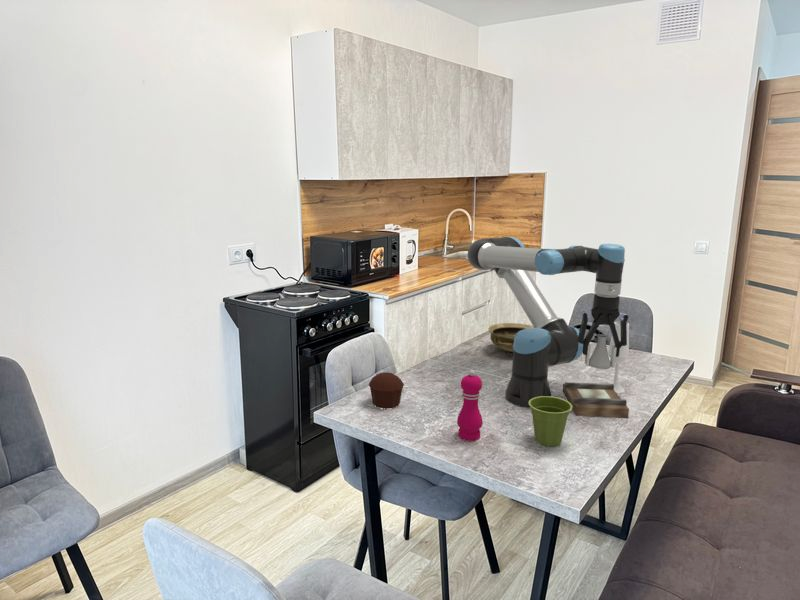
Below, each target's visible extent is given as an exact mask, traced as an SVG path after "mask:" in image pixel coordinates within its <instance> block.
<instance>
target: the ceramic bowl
mask: <svg viewBox="0 0 800 600" xmlns="http://www.w3.org/2000/svg"><path fill="white" fill-rule="evenodd" d="M528 328H532V329H534V326H533V324H526V323H515V322H502V323H501V322H500V323H494V324H492V325H490V326H489V327H488V331H489V333H490V340H491V342H492V343H493V344H494V345H495V346H496V347H497V348H499V349H502V350H503V351H505V353H506V352H507V353H506V354H508V353H509V354H508V355H511V354H512V355H511V356H513V343H514V337H515V335H516V334H517V333H518V332H519V331H521V330H524V329H528Z"/></svg>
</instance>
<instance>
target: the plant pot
mask: <svg viewBox="0 0 800 600" xmlns="http://www.w3.org/2000/svg"><path fill="white" fill-rule="evenodd" d="M529 406H530V407H531V408H530V412H531V414H532V423H533V433H534V439H535V442H537V443H538V444H539V445H543V446H546V447H557V446H559V445H561V443H562V441H563V436H564V432H565V429H566V424H567V420H568V418H569V416H570V411H573V410H572V404H571V403H570V402H568V401H567V399H564V398H561V397H558V396H557V397H556V396H552V397H551V396H540V397H535V398H532V399H530V400H529Z"/></svg>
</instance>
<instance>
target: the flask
mask: <svg viewBox="0 0 800 600" xmlns="http://www.w3.org/2000/svg"><path fill="white" fill-rule="evenodd" d="M608 338H609V336H608V335H607V334H601V333H600V334H597V342H596V345H595V347H594V349H593V352H592V354H591V355H590V359H589V366H588V367H590V368H595V369H600V370H608V369H611V368H612V367H611V364H610V357H609V354H608V349H607V347H608V345H607V340H608Z"/></svg>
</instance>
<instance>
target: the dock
mask: <svg viewBox="0 0 800 600" xmlns="http://www.w3.org/2000/svg"><path fill="white" fill-rule="evenodd" d="M613 384H614V383H595V382H593V383H591V382H568V381H567V382H564V383H562V391H561V392H562V393H563V396H564V398H565V400H566V401H568V402H570V403H571V404H572V410H571V411H573V414H574V415H575V416H576V417H594V418H598V417H599V418H617V419H618V418H621V419H629V413H630V408H629V406H628V405H627V403H628V401H627V399H626V398H625V399H624V398H623V399H622V398H621V397H620V396H619V393H616V392H615V391H614V385H613Z"/></svg>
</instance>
